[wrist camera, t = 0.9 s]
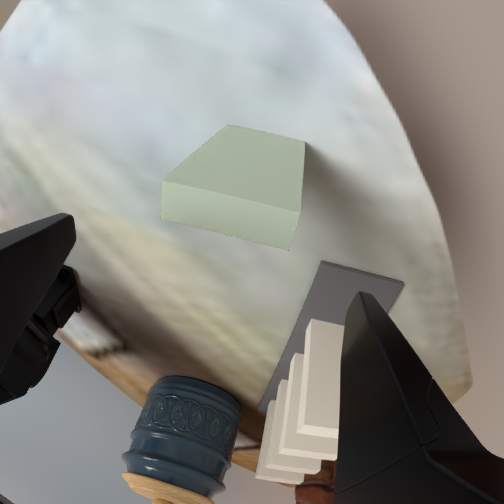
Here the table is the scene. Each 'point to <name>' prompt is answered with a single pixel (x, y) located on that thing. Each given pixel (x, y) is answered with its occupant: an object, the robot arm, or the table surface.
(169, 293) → the table surface
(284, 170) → the domino
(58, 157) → the table surface
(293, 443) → the domino
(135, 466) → the canister
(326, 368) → the domino
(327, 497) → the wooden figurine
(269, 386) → the mat
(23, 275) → the robot arm
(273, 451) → the domino
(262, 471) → the domino
